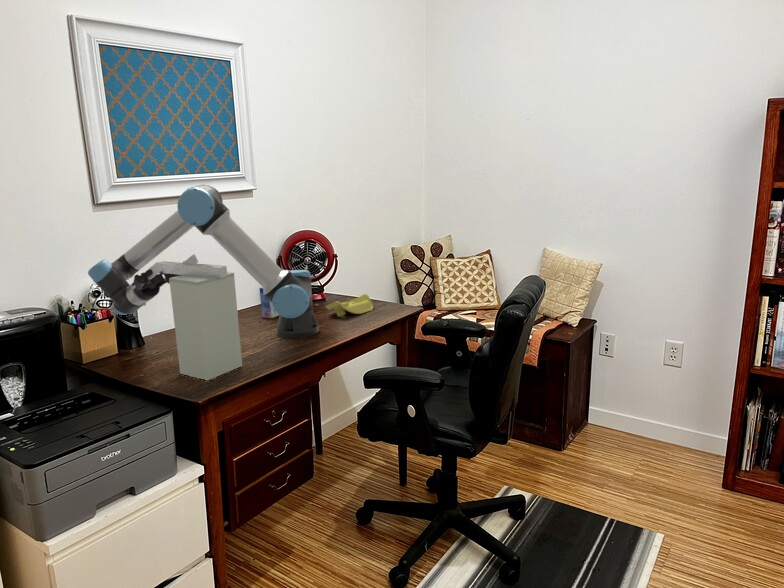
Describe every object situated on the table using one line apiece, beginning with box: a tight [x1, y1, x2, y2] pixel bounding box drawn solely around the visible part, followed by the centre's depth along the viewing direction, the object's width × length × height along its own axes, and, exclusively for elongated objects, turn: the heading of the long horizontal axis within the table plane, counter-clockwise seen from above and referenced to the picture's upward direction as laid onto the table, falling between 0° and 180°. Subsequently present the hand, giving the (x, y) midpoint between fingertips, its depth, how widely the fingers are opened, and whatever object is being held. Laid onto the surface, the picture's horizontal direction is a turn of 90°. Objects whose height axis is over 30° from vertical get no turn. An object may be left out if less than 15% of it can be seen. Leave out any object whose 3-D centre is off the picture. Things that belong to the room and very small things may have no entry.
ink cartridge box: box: [259, 286, 280, 319], centre depth 250 cm, size 10×6×14 cm, turn 149°
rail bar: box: [158, 260, 228, 278], centre depth 186 cm, size 24×3×3 cm, turn 66°
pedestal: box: [169, 271, 243, 380], centre depth 188 cm, size 12×14×30 cm
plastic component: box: [325, 293, 374, 317], centre depth 251 cm, size 20×7×10 cm
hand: (178, 262), depth 189 cm, fingers open, 13 cm apart
